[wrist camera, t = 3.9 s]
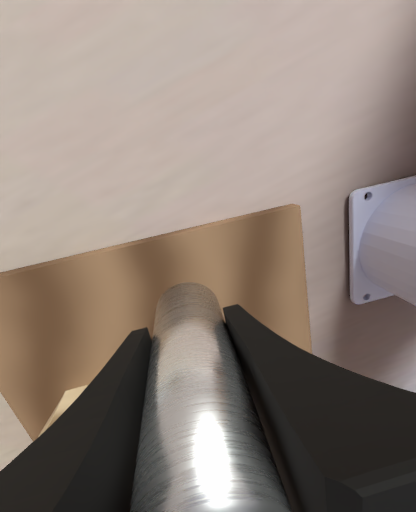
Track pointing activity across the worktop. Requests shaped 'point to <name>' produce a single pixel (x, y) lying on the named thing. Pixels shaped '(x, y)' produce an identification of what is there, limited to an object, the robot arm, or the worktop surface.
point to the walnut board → (141, 300)
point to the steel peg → (200, 418)
